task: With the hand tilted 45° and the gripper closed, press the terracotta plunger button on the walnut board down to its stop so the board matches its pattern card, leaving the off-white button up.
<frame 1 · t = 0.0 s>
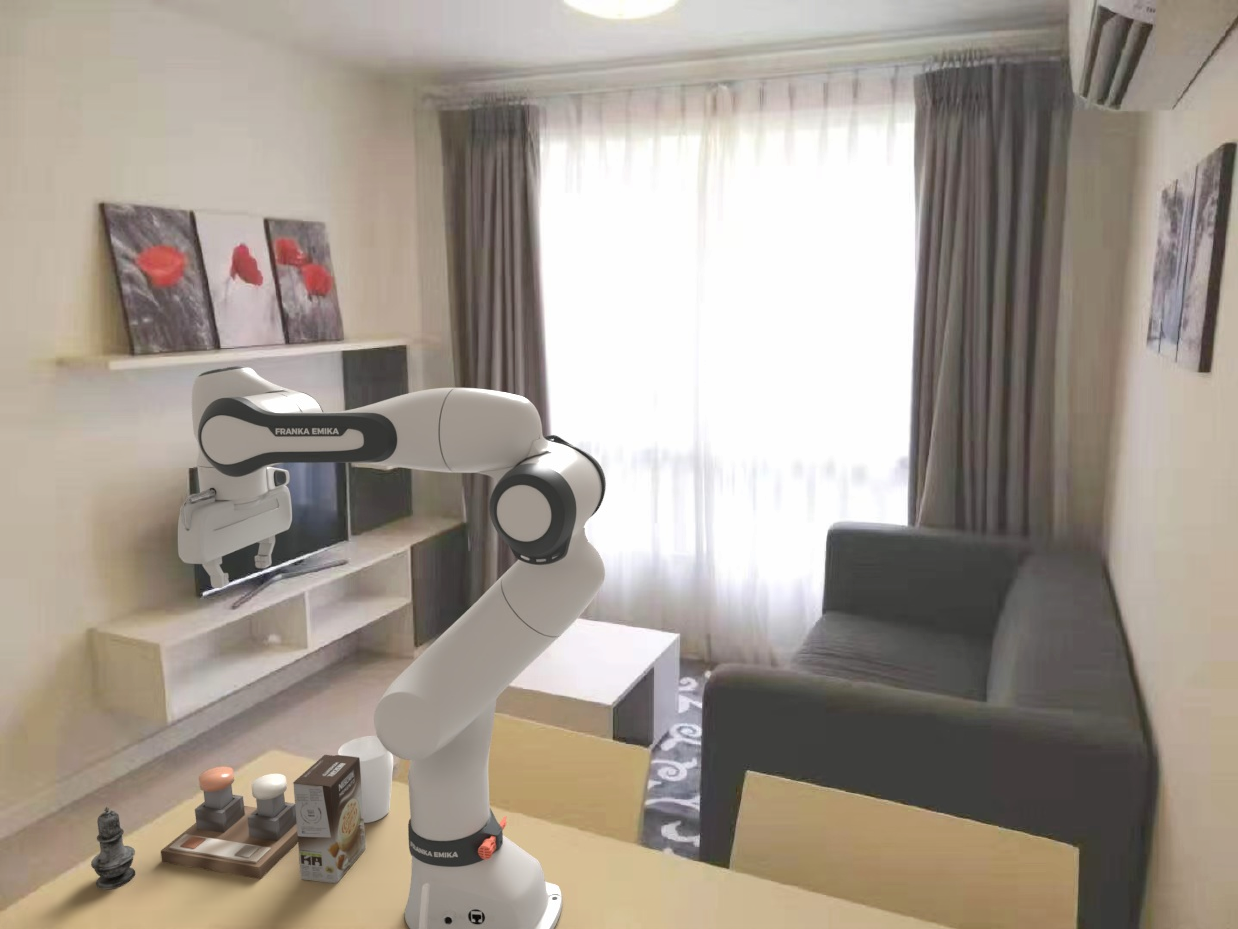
hand: (242, 576, 126), 48 cm above the table, tool pointing down, fingers open, 8 cm apart
white button: (270, 796, 142), point 8 cm above the table, slide at 0.0 cm
coffee box: (334, 865, 138), on the table
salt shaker: (116, 879, 135), on the table
pattern board: (240, 844, 143), on the table
terracotta button: (217, 789, 145), point 8 cm above the table, slide at 0.0 cm
cup: (369, 813, 151), on the table
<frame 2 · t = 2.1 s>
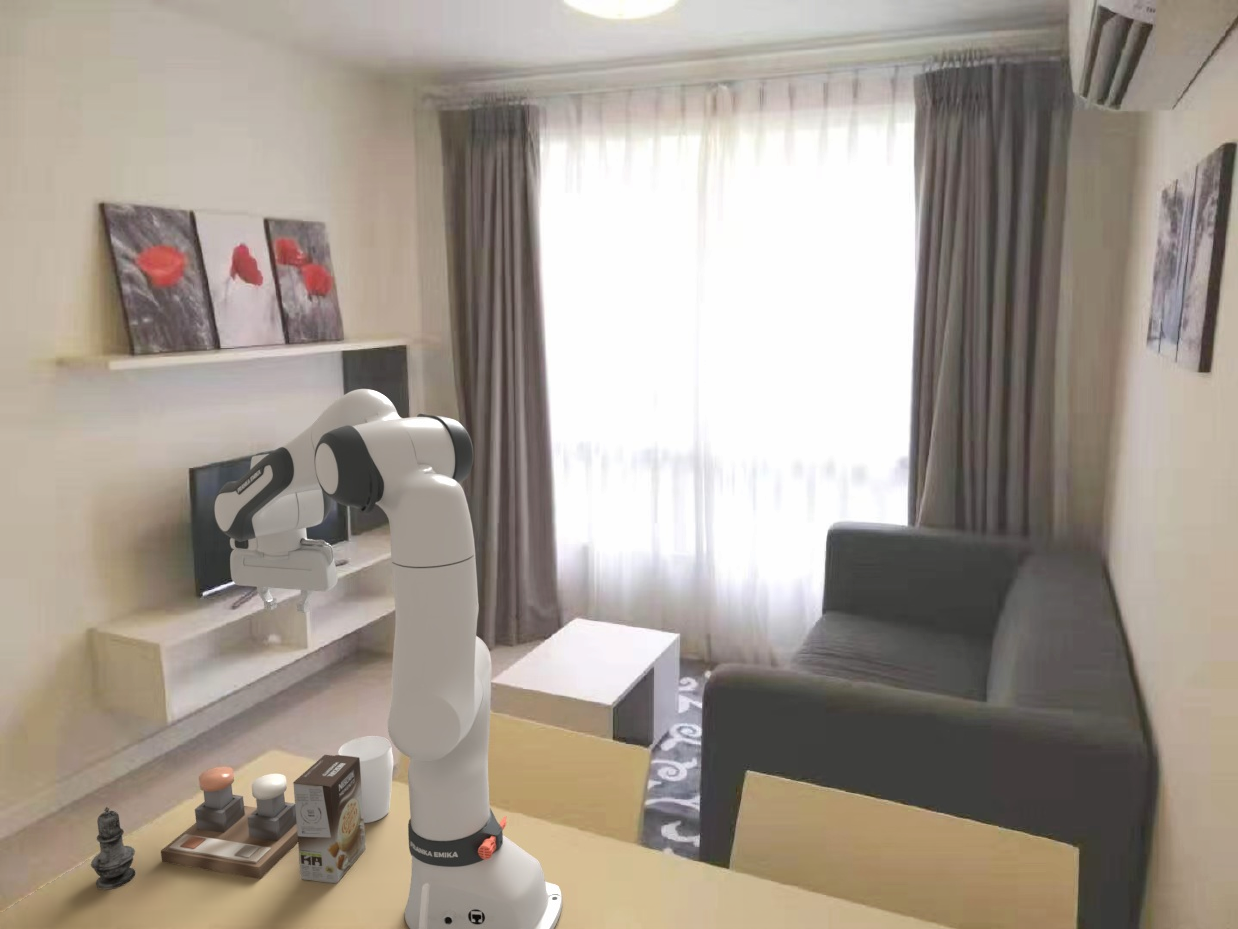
hand: (287, 610, 162), 31 cm above the table, tool pointing down, fingers open, 5 cm apart
nothing on the table moved.
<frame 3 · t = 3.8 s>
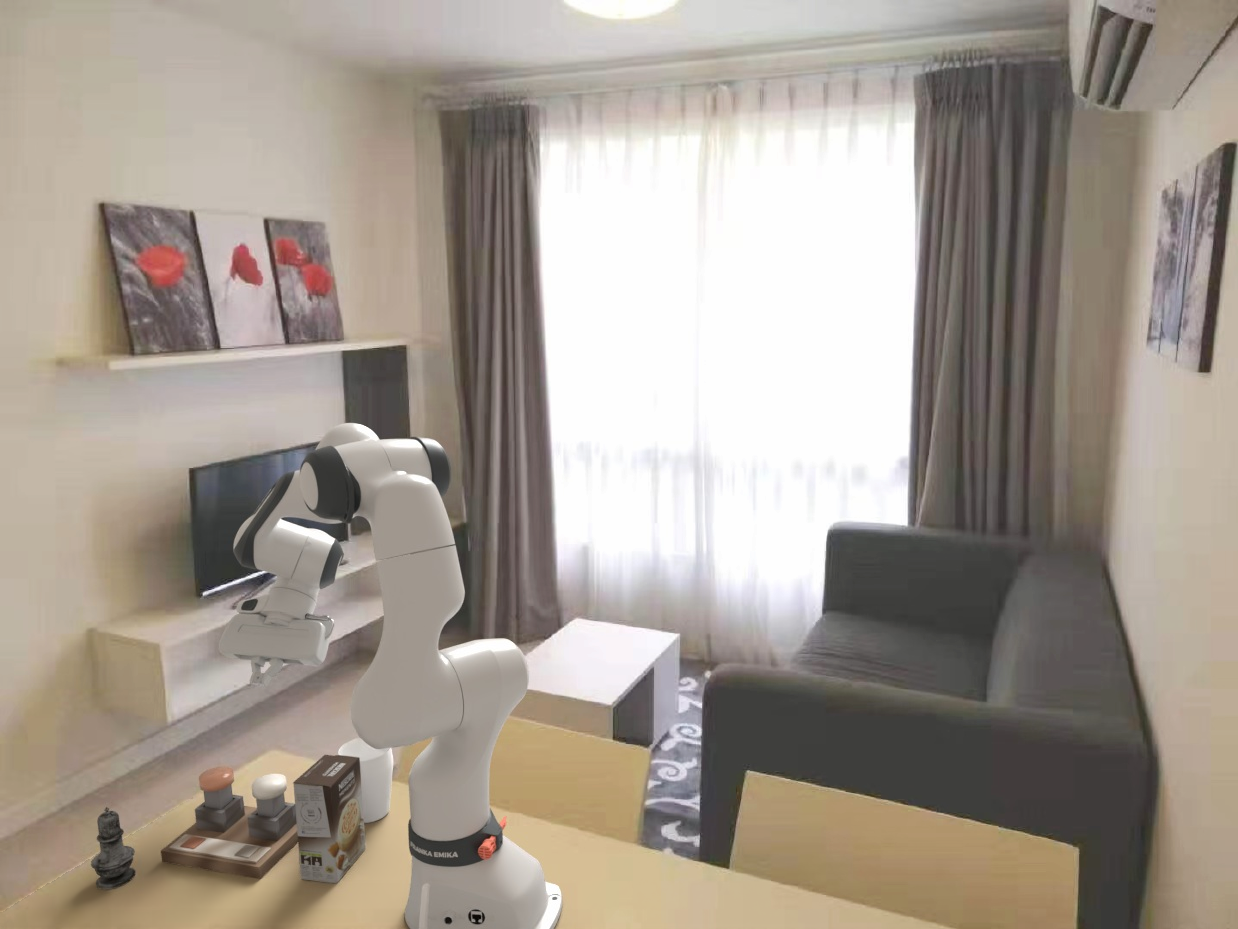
hand: (258, 684, 155), 21 cm above the table, tool tilted 45°, fingers closed
nothing on the table moved.
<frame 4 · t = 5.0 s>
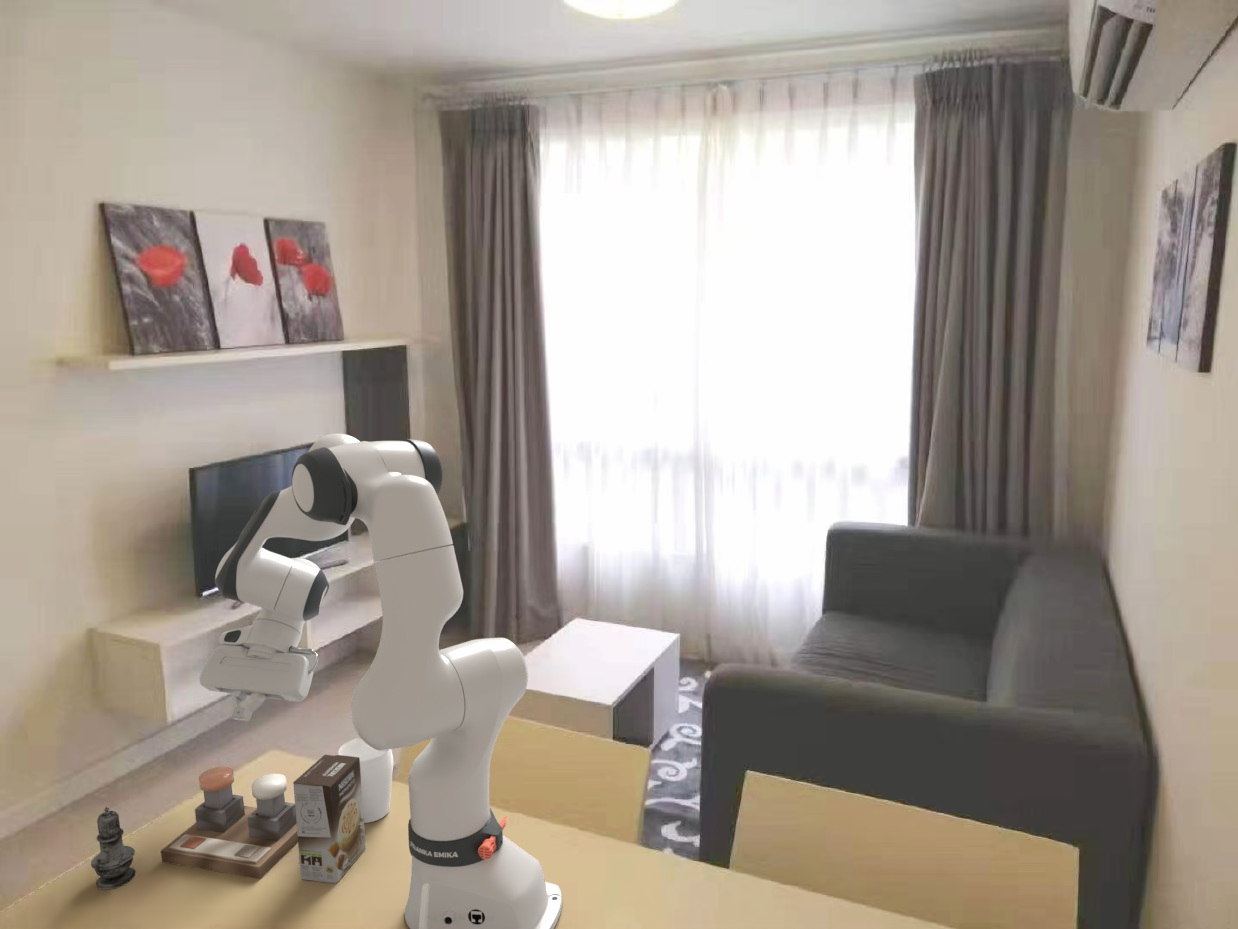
hand: (238, 719, 151), 17 cm above the table, tool tilted 45°, fingers closed
nothing on the table moved.
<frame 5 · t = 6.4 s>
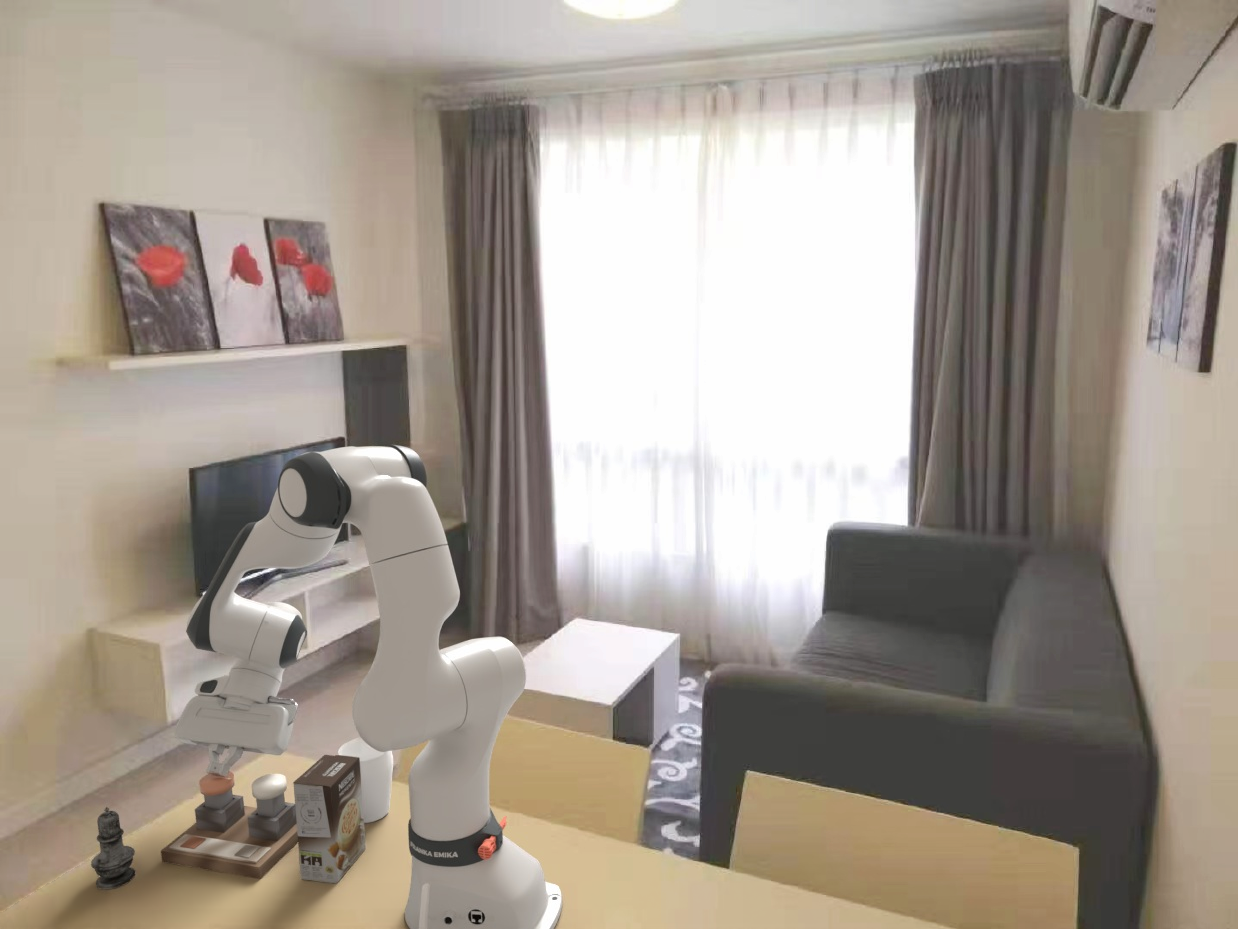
hand: (215, 775, 144), 10 cm above the table, tool tilted 45°, fingers closed, pressing on terracotta button
terracotta button: (218, 793, 145), point 7 cm above the table, slide at 0.7 cm, touching gripper
everything else where it was.
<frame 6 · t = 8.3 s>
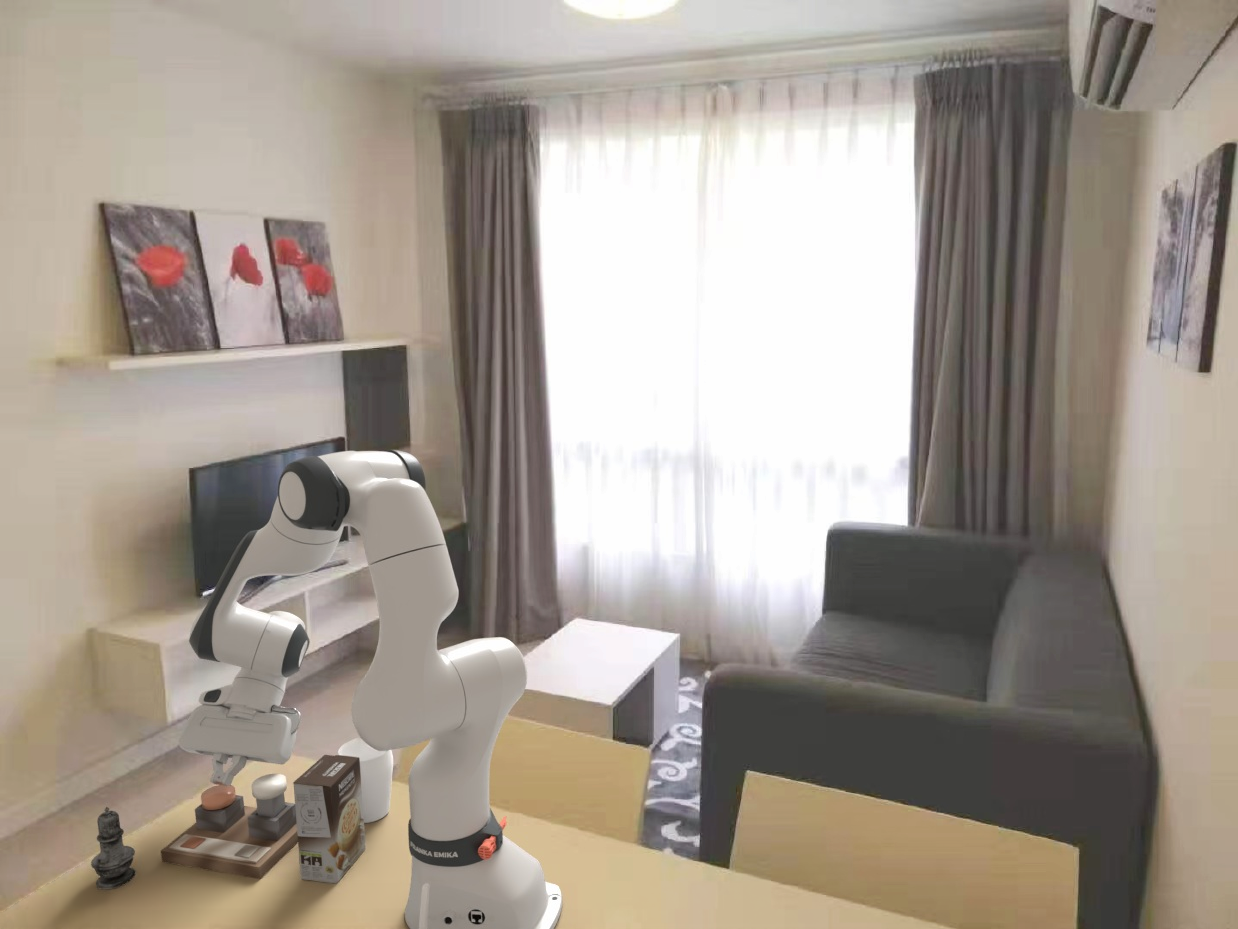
hand: (219, 784, 145), 9 cm above the table, tool tilted 45°, fingers closed
terracotta button: (219, 807, 145), point 5 cm above the table, slide at 3.2 cm
everything else where it was.
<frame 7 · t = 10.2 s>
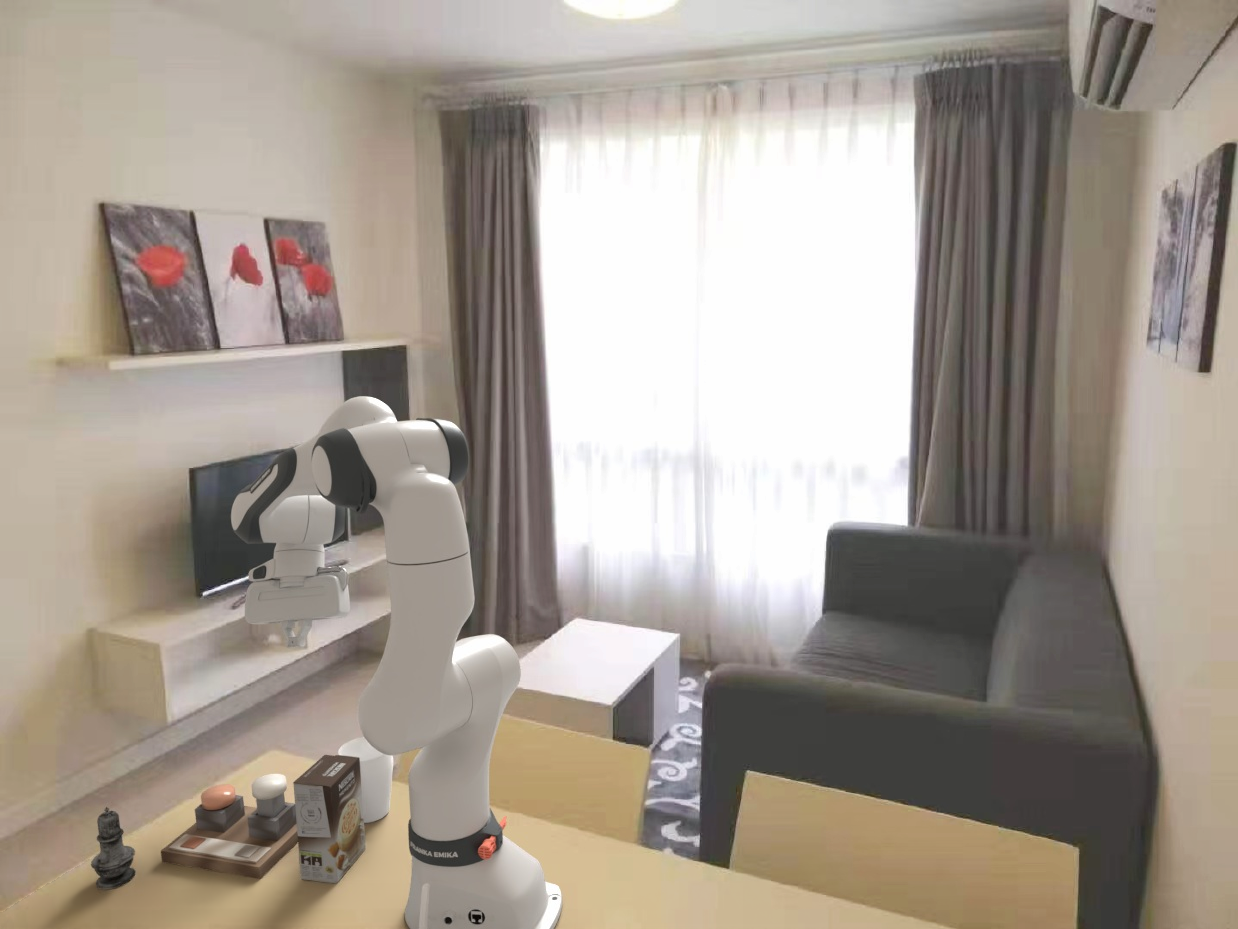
hand: (295, 647, 156), 27 cm above the table, tool tilted 25°, fingers closed
nothing on the table moved.
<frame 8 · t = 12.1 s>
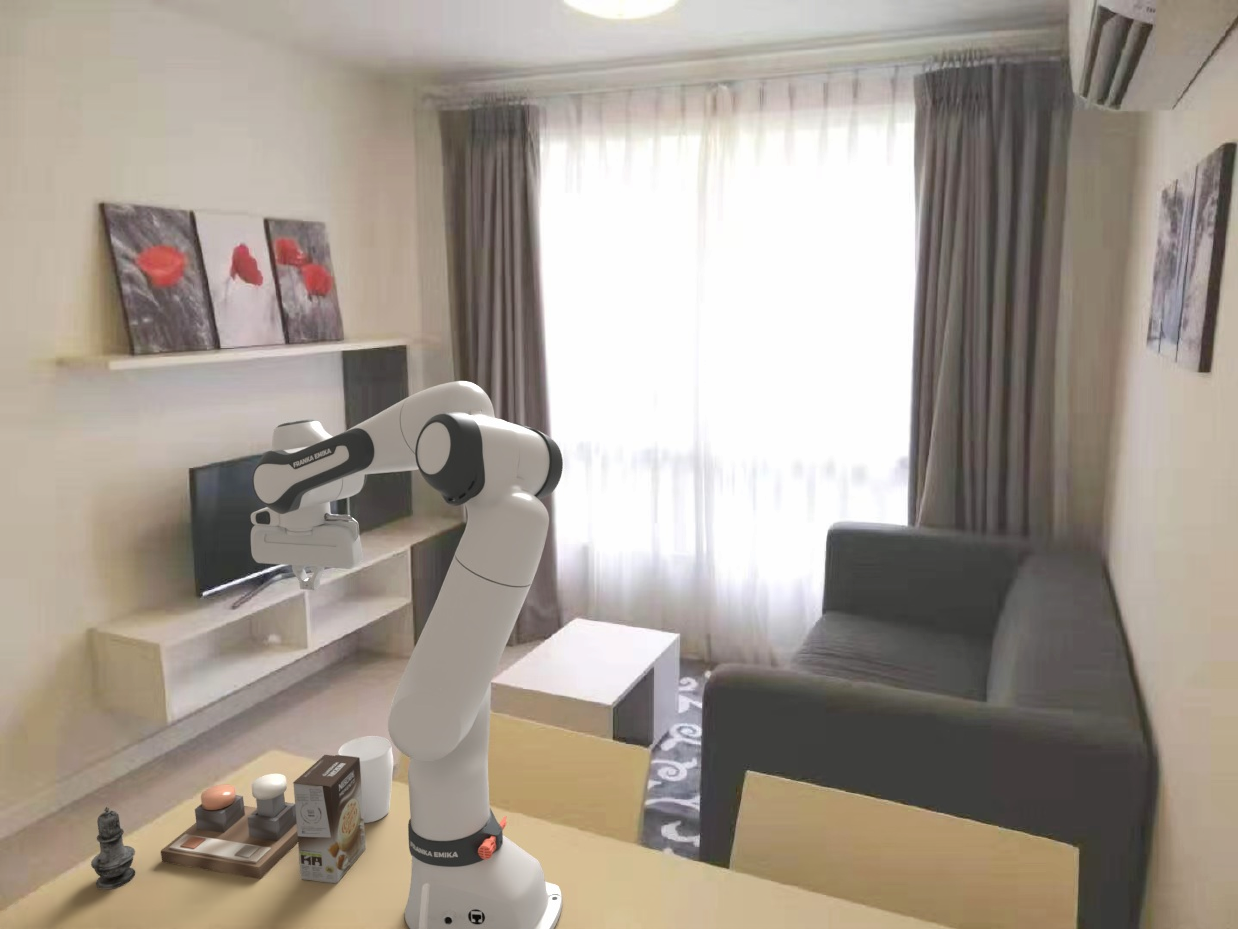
hand: (310, 589, 155), 37 cm above the table, tool pointing down, fingers closed
nothing on the table moved.
at the end: terracotta button slide at 3.2 cm; white button slide at 0.0 cm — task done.
